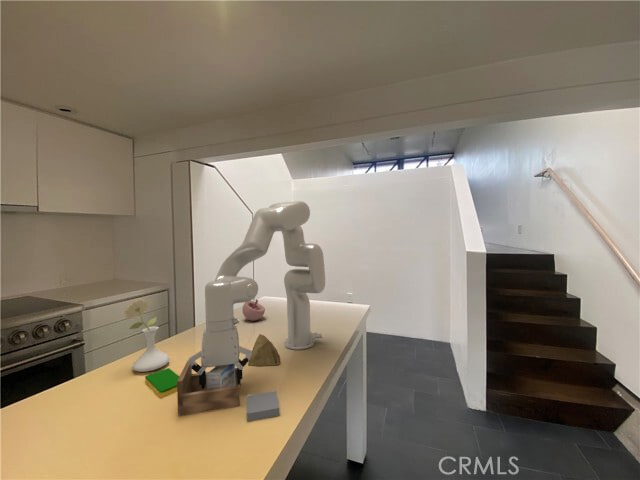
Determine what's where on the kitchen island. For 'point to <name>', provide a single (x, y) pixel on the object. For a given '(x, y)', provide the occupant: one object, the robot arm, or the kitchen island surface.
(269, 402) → the plinth
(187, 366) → the rack
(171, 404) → the kitchen island surface
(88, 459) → the kitchen island surface
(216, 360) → the robot arm
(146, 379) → the dish sponge
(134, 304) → the flower in vase
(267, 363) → the rock
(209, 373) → the medicine box
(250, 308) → the red apple
